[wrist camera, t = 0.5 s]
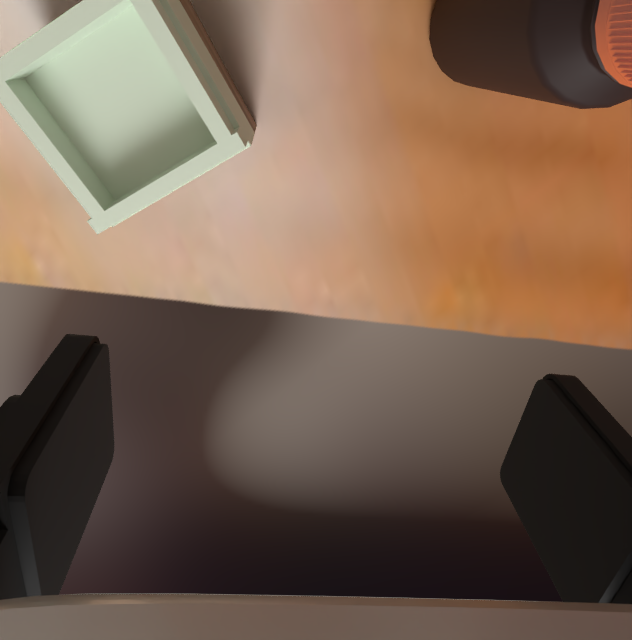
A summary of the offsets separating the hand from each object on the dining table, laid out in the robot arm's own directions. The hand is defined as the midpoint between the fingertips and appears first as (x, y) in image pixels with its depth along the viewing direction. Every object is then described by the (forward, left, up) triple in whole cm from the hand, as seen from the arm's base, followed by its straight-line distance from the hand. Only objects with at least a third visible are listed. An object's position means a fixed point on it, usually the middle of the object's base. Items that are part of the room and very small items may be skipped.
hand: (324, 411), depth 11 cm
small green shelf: (+5, -8, -24) cm, 26 cm away
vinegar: (-15, -2, -28) cm, 32 cm away
